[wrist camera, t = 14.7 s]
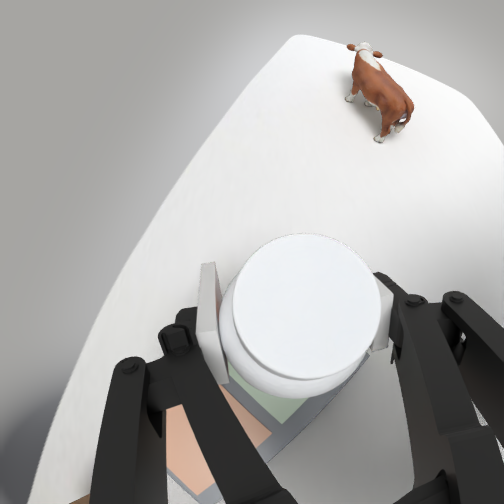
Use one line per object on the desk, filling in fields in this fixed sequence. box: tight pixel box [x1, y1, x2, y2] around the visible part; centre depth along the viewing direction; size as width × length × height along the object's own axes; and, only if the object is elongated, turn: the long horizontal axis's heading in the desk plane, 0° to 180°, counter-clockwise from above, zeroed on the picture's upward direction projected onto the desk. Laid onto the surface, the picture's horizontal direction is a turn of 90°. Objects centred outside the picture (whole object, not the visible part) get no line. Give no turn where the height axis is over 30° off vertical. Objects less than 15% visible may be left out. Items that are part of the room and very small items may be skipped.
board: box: [166, 352, 370, 504], centre depth 22 cm, size 18×11×1 cm, turn 135°
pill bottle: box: [219, 233, 381, 399], centre depth 14 cm, size 6×6×11 cm
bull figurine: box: [345, 42, 414, 142], centre depth 31 cm, size 4×13×8 cm, turn 11°
